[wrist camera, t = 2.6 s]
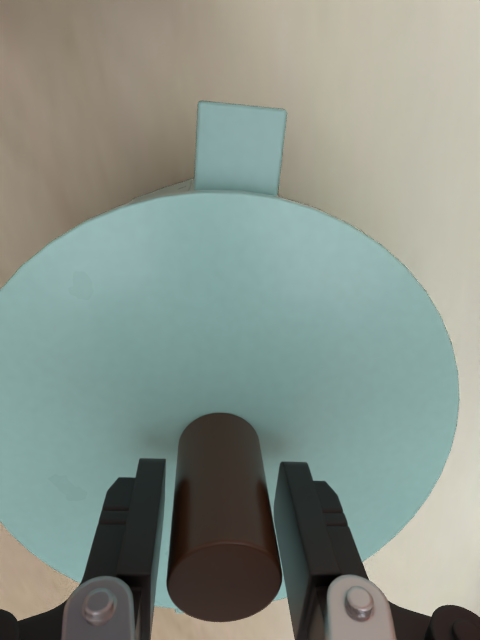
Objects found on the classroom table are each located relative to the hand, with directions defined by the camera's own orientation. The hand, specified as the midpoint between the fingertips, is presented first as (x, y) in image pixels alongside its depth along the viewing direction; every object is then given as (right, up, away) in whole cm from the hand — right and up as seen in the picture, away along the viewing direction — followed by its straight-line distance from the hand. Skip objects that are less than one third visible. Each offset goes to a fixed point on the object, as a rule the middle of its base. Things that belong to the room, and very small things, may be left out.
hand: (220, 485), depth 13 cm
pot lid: (0, +1, +2) cm, 2 cm away
